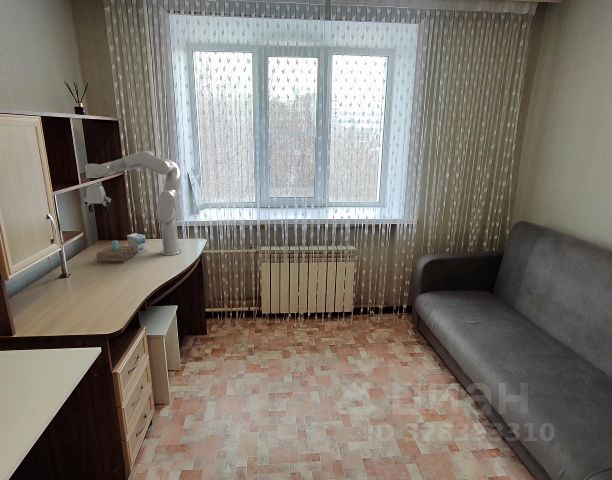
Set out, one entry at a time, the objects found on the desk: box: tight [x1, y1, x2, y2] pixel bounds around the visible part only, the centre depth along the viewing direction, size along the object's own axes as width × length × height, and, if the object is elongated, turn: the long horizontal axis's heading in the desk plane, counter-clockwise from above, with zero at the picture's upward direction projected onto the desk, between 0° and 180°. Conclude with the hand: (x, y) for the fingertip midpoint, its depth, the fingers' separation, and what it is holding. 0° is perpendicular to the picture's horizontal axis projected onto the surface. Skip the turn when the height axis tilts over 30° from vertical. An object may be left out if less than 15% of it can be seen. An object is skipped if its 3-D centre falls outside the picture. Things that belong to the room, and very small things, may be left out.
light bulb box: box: [126, 232, 148, 254], centre depth 263 cm, size 11×7×11 cm, turn 58°
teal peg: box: [111, 239, 120, 251], centre depth 246 cm, size 3×3×10 cm
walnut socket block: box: [95, 245, 137, 264], centre depth 247 cm, size 16×16×6 cm
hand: (98, 212), depth 247 cm, fingers open, 9 cm apart
